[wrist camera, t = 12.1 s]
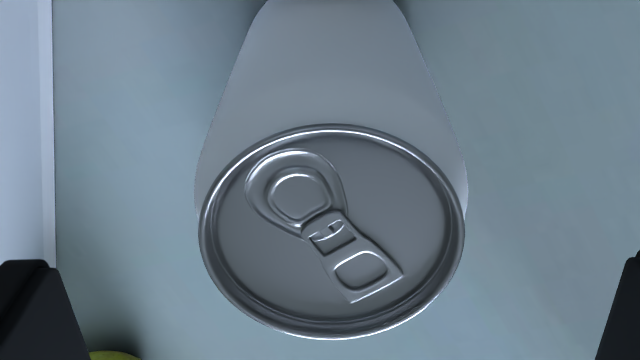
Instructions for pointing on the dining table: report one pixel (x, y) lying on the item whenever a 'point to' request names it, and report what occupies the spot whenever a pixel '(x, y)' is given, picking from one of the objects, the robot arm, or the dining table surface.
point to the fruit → (111, 355)
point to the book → (26, 132)
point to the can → (331, 174)
